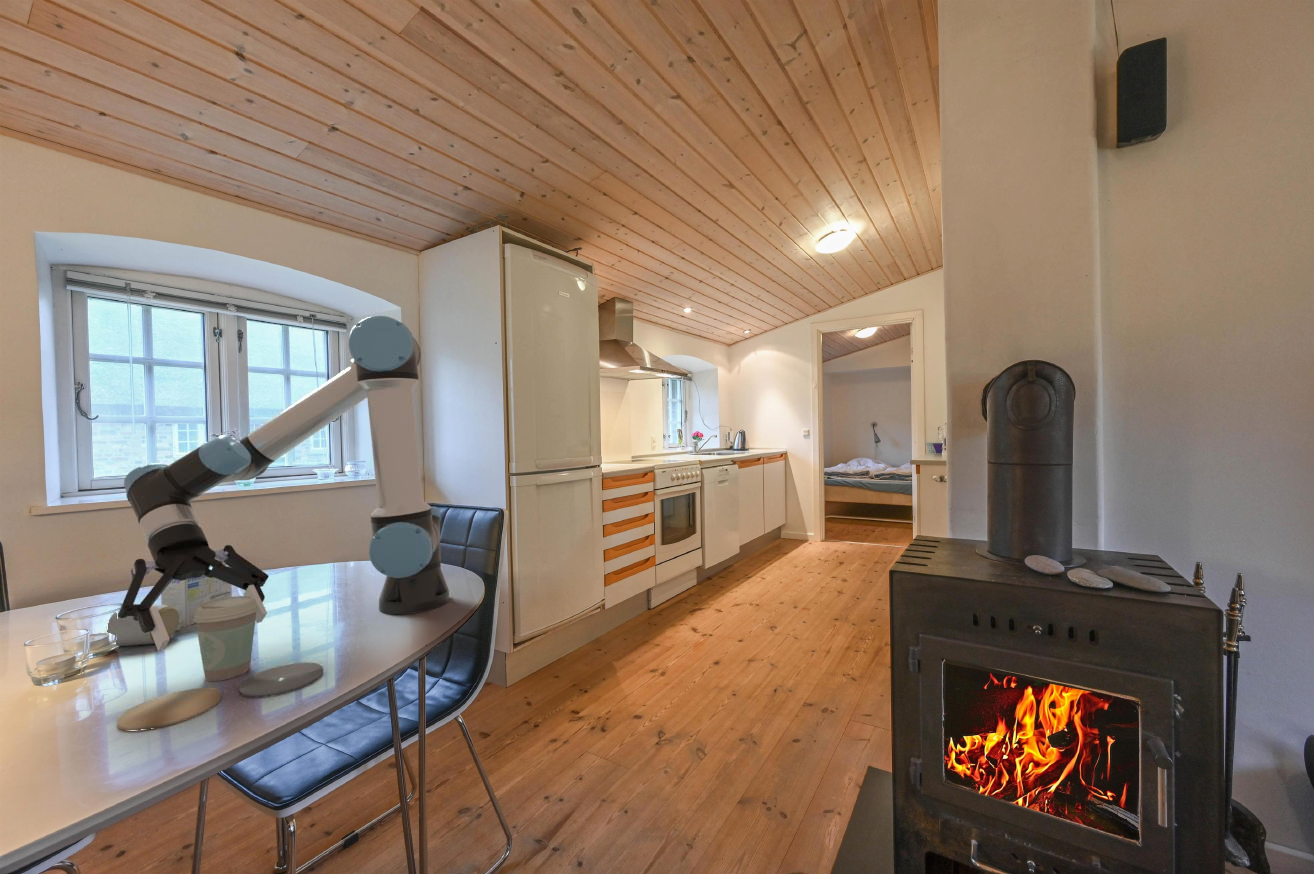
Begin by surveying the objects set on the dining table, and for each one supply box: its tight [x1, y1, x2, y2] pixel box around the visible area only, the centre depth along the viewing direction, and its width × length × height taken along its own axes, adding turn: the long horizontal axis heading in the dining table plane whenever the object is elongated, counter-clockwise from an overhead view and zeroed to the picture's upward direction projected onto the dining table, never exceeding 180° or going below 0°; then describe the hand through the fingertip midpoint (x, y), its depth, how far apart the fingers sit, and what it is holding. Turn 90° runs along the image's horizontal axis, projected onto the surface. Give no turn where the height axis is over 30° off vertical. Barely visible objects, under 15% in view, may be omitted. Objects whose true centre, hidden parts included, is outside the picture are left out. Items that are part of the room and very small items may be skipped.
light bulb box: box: [160, 564, 233, 628], centre depth 116 cm, size 11×7×11 cm, turn 172°
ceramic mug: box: [107, 604, 182, 647], centre depth 104 cm, size 11×8×8 cm
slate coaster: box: [238, 661, 324, 699], centre depth 84 cm, size 11×11×1 cm
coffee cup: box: [193, 595, 259, 682], centre depth 87 cm, size 8×8×12 cm
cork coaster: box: [117, 687, 222, 731], centre depth 75 cm, size 11×11×1 cm
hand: (216, 630), depth 88 cm, fingers open, 13 cm apart
